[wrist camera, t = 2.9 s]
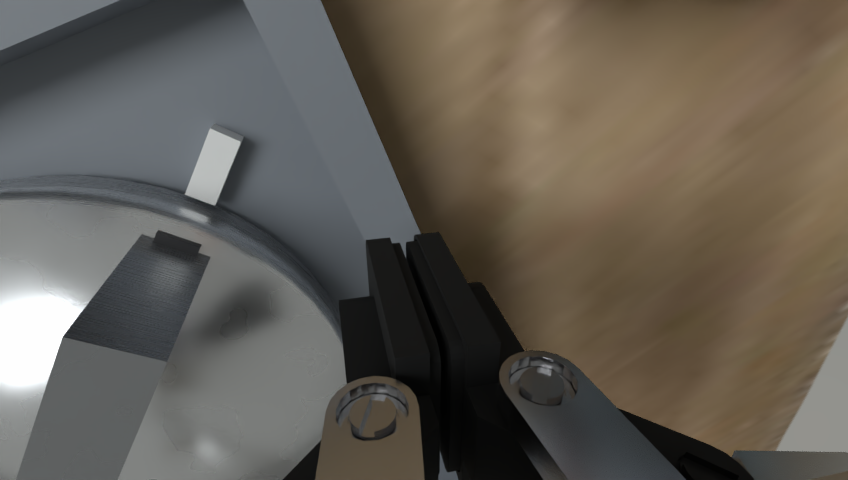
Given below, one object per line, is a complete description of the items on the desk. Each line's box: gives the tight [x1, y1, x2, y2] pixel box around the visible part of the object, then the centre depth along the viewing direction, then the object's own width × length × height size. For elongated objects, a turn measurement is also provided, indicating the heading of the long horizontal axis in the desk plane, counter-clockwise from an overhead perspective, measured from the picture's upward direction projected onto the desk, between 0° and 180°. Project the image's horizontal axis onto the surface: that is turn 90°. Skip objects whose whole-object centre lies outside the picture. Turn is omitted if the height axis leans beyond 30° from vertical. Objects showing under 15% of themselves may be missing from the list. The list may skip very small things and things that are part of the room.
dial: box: [0, 175, 347, 480], centre depth 12 cm, size 15×15×6 cm
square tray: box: [0, 0, 458, 480], centre depth 15 cm, size 22×22×3 cm
